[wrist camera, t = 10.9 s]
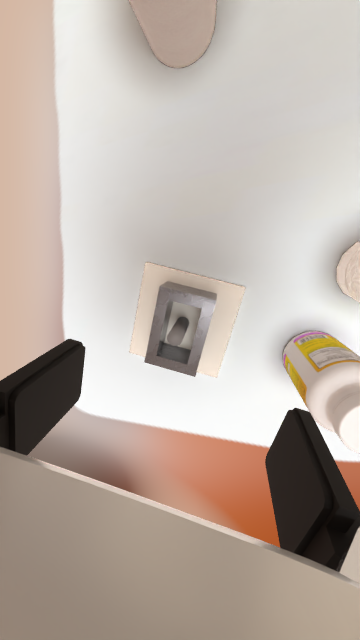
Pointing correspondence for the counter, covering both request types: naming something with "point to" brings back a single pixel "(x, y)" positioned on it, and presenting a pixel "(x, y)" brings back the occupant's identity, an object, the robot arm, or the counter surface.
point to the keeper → (187, 315)
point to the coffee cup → (176, 28)
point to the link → (157, 349)
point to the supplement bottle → (327, 383)
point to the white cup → (350, 272)
